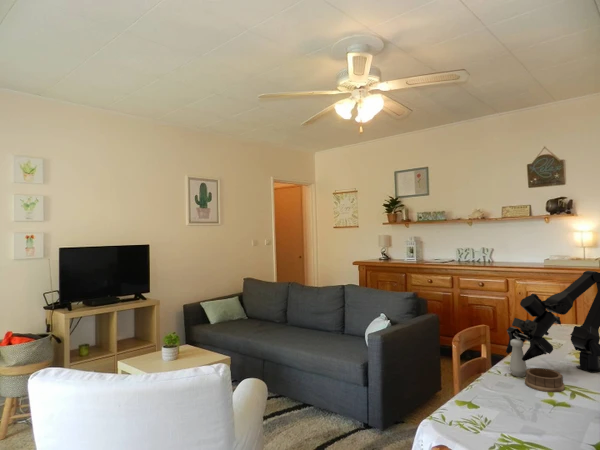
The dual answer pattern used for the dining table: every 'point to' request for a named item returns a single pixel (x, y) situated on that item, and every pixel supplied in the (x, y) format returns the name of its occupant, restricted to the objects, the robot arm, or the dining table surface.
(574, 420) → the dining table surface
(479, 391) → the dining table surface
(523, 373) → the salt shaker
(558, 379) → the collar stand
